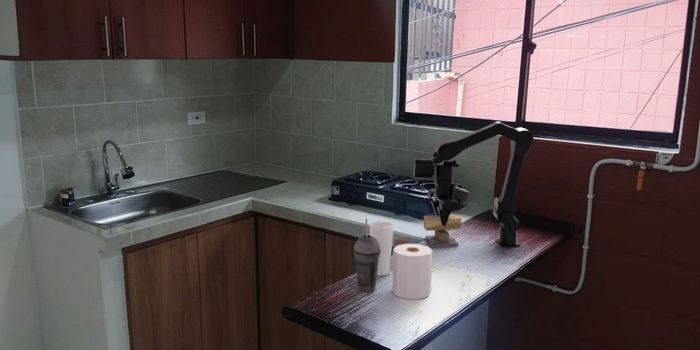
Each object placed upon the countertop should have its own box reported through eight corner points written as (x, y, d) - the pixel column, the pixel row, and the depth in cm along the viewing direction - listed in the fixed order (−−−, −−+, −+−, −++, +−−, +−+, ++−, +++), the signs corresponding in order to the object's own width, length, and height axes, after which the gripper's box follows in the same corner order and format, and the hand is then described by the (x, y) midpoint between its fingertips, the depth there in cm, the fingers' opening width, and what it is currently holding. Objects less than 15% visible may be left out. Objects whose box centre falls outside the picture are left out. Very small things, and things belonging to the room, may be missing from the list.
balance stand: (458, 245, 193) (458, 234, 192) (432, 246, 192) (432, 235, 191) (450, 237, 202) (450, 226, 201) (425, 238, 201) (425, 227, 200)
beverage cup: (357, 297, 152) (358, 224, 147) (350, 286, 158) (350, 217, 154) (383, 294, 153) (385, 222, 149) (375, 284, 160) (376, 215, 156)
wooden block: (406, 265, 175) (407, 240, 173) (393, 264, 176) (394, 239, 174) (408, 261, 178) (409, 236, 177) (396, 259, 180) (396, 235, 178)
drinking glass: (378, 267, 173) (378, 219, 170) (396, 272, 169) (397, 223, 166) (364, 273, 168) (364, 224, 165) (382, 279, 164) (383, 229, 161)
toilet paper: (407, 281, 163) (409, 240, 160) (438, 291, 156) (439, 249, 153) (384, 291, 155) (385, 249, 153) (415, 303, 148) (416, 258, 146)
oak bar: (460, 229, 195) (461, 218, 194) (426, 230, 193) (426, 219, 192) (457, 226, 198) (457, 214, 198) (423, 227, 197) (423, 215, 196)
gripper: (476, 184, 184) (474, 231, 187) (458, 173, 202) (456, 215, 206) (443, 185, 183) (441, 232, 186) (428, 173, 201) (426, 216, 204)
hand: (442, 223), depth 196 cm, fingers closed on oak bar, 4 cm apart
